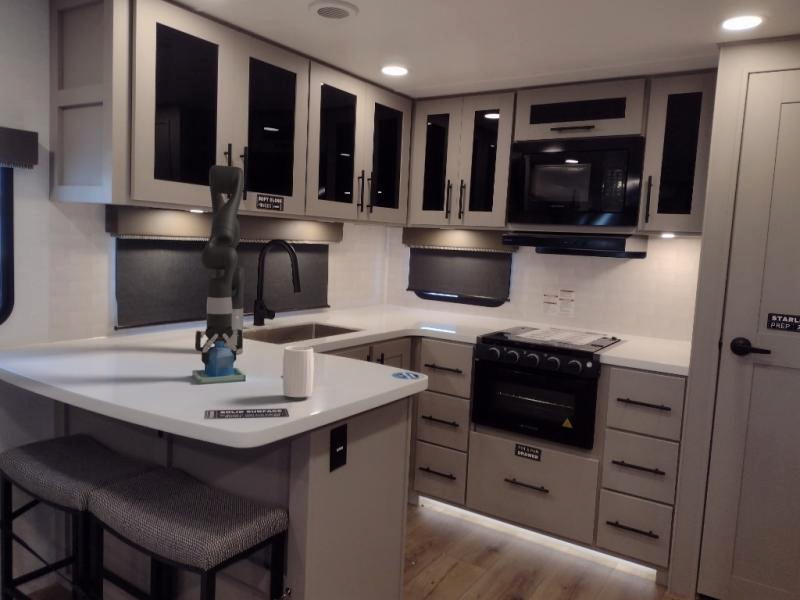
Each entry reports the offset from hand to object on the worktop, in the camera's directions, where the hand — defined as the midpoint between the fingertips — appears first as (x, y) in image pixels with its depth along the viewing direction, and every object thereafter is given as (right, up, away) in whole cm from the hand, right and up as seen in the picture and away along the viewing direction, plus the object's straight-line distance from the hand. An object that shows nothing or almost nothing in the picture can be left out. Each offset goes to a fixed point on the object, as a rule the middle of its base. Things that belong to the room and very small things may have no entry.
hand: (218, 363), depth 187 cm
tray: (0, -5, 0) cm, 5 cm away
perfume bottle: (0, -4, 0) cm, 4 cm away
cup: (+28, -8, -19) cm, 34 cm away
